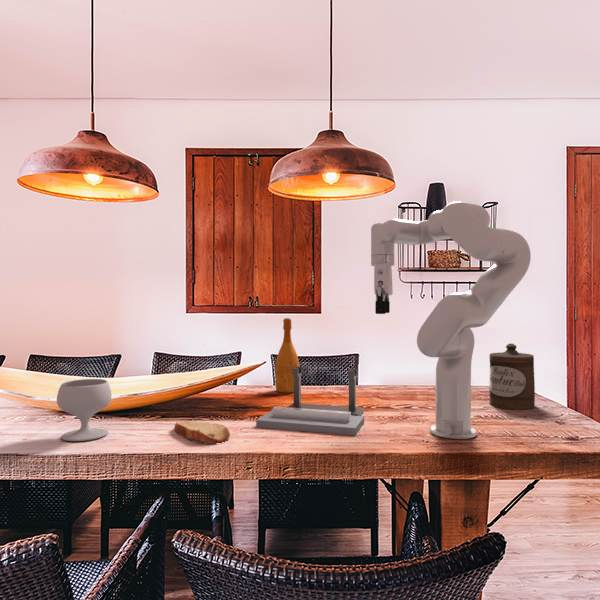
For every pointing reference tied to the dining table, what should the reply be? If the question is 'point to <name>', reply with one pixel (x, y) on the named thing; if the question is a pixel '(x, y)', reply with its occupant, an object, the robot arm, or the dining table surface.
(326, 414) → the rail
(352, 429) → the board
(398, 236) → the robot arm
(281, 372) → the wine bottle
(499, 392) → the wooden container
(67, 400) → the chalice
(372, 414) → the dining table surface
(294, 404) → the rack
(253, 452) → the dining table surface
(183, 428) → the bread slice
